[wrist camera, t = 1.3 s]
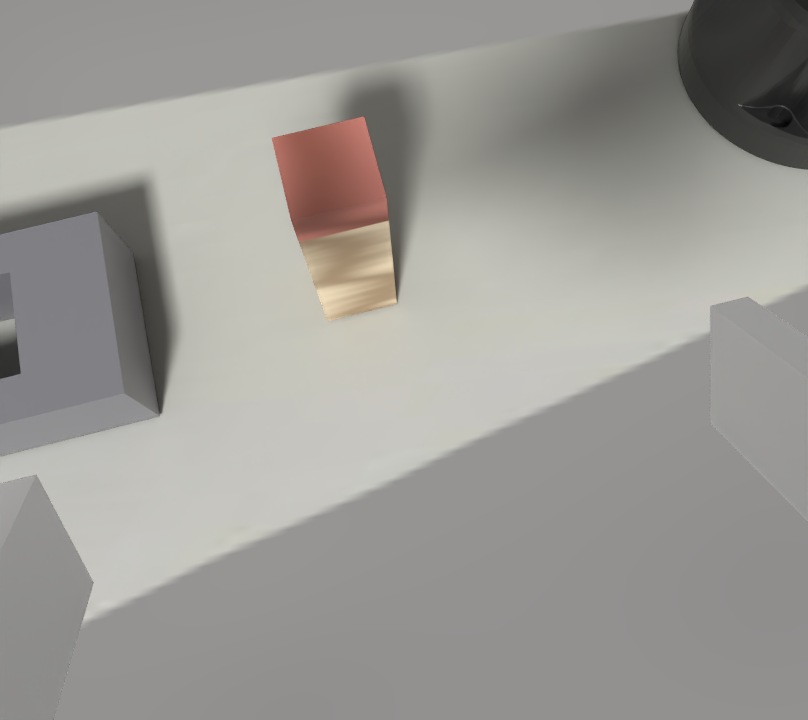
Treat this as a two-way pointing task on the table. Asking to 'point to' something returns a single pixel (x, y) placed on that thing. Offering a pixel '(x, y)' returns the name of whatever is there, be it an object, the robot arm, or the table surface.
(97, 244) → the socket block
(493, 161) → the table surface
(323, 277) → the plug peg
